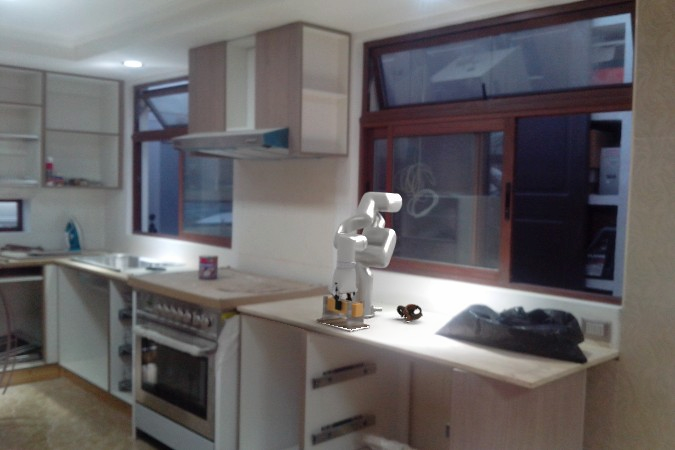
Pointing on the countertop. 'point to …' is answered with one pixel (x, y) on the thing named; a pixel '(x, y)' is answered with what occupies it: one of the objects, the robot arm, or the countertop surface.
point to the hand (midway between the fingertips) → (343, 308)
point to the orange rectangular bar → (345, 307)
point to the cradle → (335, 320)
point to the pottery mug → (409, 312)
